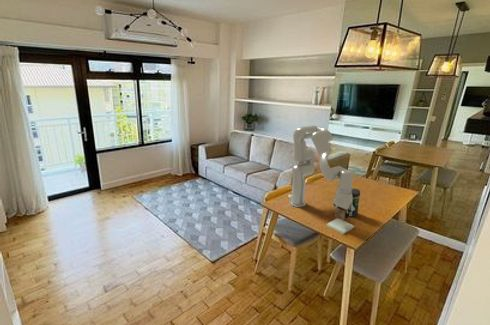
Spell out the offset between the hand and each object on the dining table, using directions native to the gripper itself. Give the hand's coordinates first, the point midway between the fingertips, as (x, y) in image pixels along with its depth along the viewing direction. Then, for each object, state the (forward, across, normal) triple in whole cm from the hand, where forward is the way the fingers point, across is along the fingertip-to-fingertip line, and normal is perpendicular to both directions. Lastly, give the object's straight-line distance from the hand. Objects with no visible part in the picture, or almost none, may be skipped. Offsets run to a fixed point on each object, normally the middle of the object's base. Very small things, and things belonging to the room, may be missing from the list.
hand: (341, 215), depth 162 cm
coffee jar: (+8, -5, +21) cm, 23 cm away
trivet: (+8, 0, 0) cm, 8 cm away
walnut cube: (+1, 0, 0) cm, 1 cm away
